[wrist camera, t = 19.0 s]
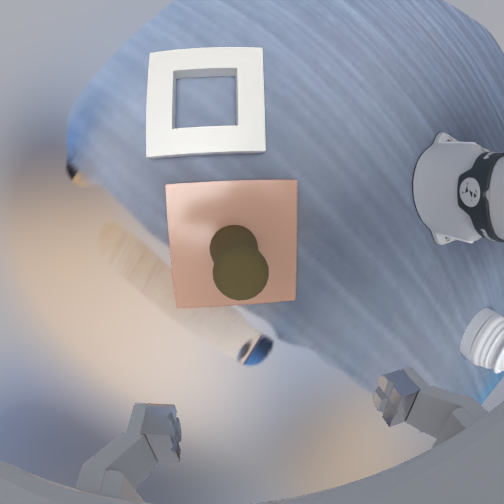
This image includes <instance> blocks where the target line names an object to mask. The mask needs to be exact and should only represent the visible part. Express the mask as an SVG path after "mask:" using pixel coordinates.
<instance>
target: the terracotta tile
mask: <svg viewBox="0 0 504 504" xmlns="http://www.w3.org/2000/svg"><path fill="white" fill-rule="evenodd" d="M166 204H167V219H168V233H169V244H170V255H171V265H172V274H173V283H174V291H175V299H176V306H177V308H193V307H213V306H229V305H244V304H258V303H270V302H281V301H292V300H296V268H297V180H235V181H211V182H193V183H178V184H166ZM228 225H240V226H244V227H245V228H247V229H249V230H250V231H251V232H252V233H253V235H254V236H255V237H256V240H257V243H258V251H260V253H261V254H262V255H263V256H264V258H265V259H266V261H267V264H268V267H269V277H268V281H267V284H266V286H265V287H264V289H263V290H262V292H261V293H259V294H258V295H257V296H255V297H253V298H251V299H248V300H240V301H238V300H234V299H230V298H228V297H226V296H225V295H223V294H222V293H221V292H220V291H219V289H218V288H217V287H216V285H215V282H214V280H213V266H214V262H213V260H212V257H211V255H210V243H211V239H212V238H213V236H214V235H215V233H216V232H217V231H218V230H220V229H221V228H223V227H225V226H228Z"/></svg>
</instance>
